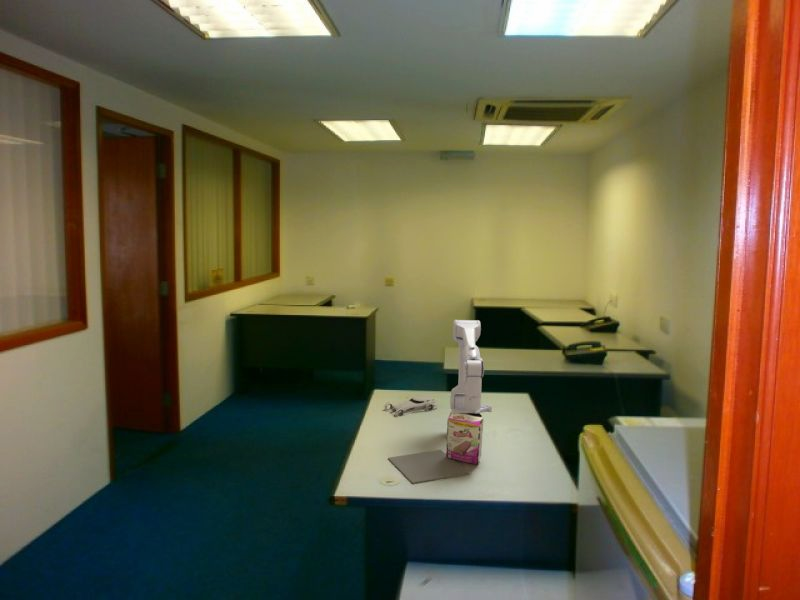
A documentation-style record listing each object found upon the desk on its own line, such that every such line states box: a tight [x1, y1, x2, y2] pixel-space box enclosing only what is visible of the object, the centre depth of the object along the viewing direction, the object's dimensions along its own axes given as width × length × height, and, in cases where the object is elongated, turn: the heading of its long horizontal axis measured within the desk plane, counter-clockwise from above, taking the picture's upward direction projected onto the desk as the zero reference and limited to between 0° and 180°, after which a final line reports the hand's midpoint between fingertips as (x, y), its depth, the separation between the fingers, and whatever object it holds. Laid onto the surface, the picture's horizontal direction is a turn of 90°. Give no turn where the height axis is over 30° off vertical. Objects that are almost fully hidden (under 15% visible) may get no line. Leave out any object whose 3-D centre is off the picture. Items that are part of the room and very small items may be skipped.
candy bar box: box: [445, 410, 484, 466], centre depth 188 cm, size 11×5×16 cm, turn 71°
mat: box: [387, 449, 471, 485], centre depth 186 cm, size 20×20×1 cm
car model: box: [383, 396, 438, 417], centre depth 244 cm, size 11×24×5 cm, turn 123°
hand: (470, 434), depth 191 cm, fingers closed
